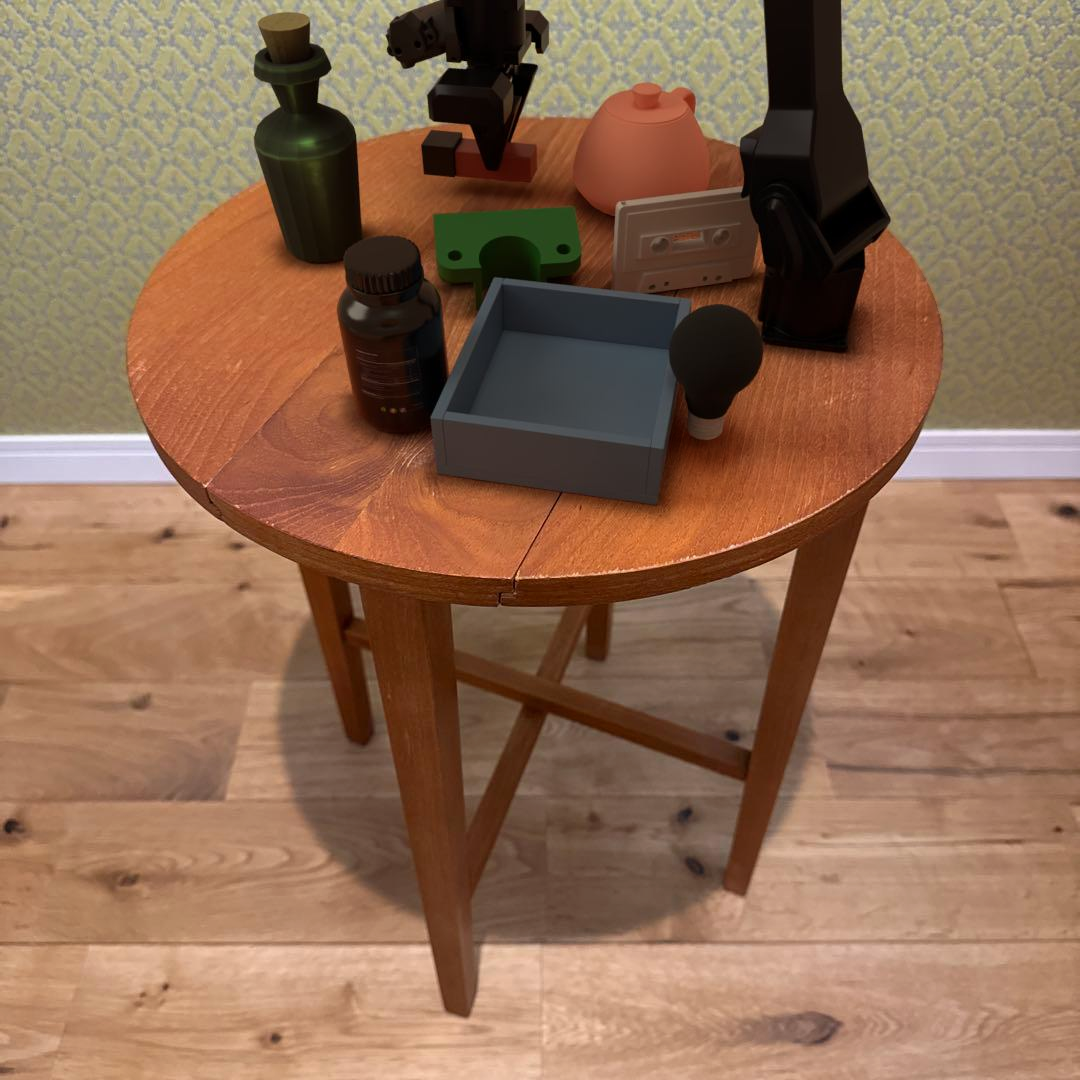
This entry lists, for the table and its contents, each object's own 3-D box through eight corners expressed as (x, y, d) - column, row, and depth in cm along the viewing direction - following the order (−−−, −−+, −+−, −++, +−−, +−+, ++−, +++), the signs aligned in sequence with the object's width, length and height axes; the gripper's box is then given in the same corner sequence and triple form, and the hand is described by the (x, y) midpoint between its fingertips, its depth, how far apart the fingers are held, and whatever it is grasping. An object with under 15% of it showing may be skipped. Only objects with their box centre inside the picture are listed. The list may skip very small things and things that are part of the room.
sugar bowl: (545, 204, 89) (544, 90, 81) (636, 152, 96) (643, 42, 89) (653, 249, 83) (664, 130, 76) (741, 189, 91) (759, 76, 83)
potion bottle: (344, 276, 80) (305, 47, 67) (259, 259, 82) (204, 33, 69) (388, 230, 86) (359, 9, 73) (307, 214, 88) (264, -3, 75)
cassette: (746, 268, 81) (760, 180, 76) (754, 279, 80) (770, 191, 74) (608, 287, 79) (613, 198, 74) (615, 299, 78) (620, 210, 72)
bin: (685, 354, 73) (692, 298, 69) (657, 505, 62) (663, 448, 58) (496, 331, 75) (494, 276, 71) (436, 474, 64) (430, 417, 60)
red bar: (537, 168, 89) (537, 138, 87) (530, 184, 87) (529, 154, 85) (433, 159, 91) (430, 129, 89) (423, 174, 89) (420, 144, 87)
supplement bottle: (363, 375, 71) (337, 224, 62) (456, 376, 71) (443, 225, 62) (347, 435, 66) (317, 282, 58) (446, 437, 66) (431, 283, 58)
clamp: (468, 348, 81) (416, 278, 73) (463, 294, 84) (412, 222, 76) (603, 299, 77) (563, 221, 70) (593, 246, 80) (554, 165, 73)
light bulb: (686, 476, 64) (704, 349, 56) (644, 423, 67) (656, 298, 60) (762, 452, 65) (789, 326, 58) (717, 402, 69) (737, 277, 62)
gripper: (425, -69, 84) (439, 112, 96) (352, 3, 72) (379, 202, 83) (550, -62, 83) (550, 122, 94) (498, 13, 70) (505, 215, 81)
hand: (496, 162), depth 88 cm, fingers closed on red bar, 3 cm apart
